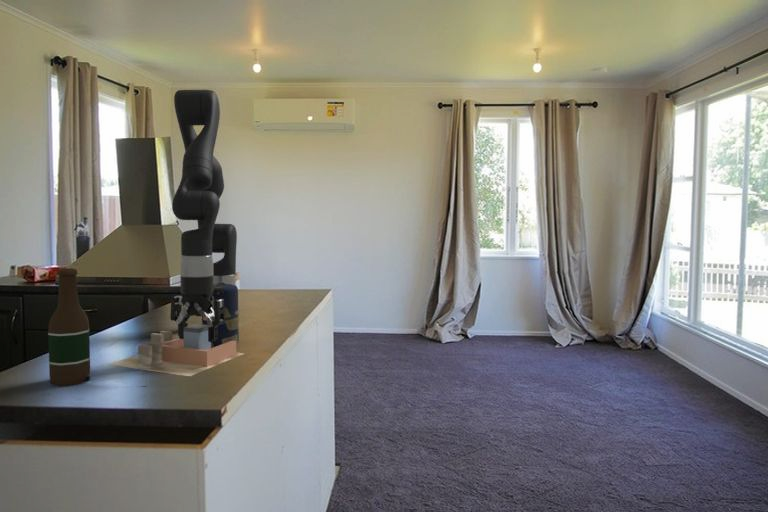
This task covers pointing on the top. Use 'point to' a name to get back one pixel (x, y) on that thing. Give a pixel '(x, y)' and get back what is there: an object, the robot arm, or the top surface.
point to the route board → (152, 358)
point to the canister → (226, 313)
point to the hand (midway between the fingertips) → (197, 340)
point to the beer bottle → (68, 335)
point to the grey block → (196, 337)
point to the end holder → (196, 353)
